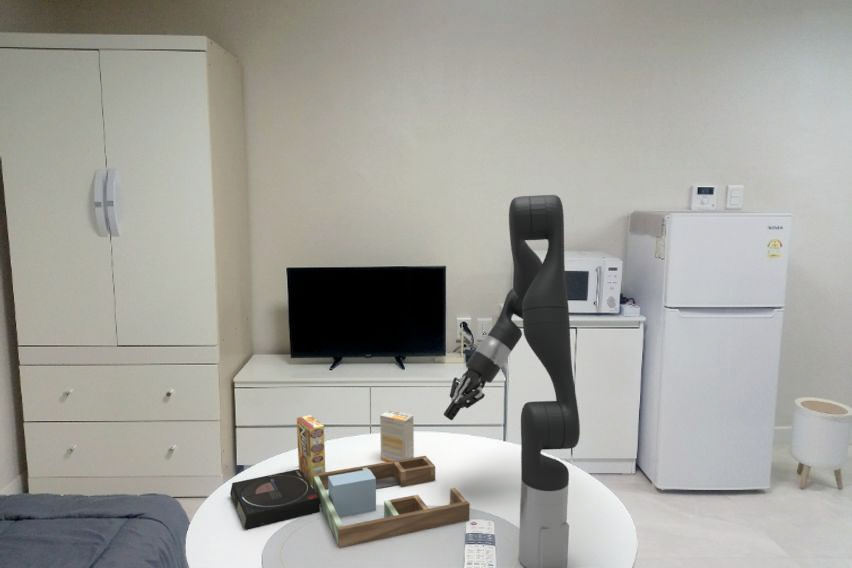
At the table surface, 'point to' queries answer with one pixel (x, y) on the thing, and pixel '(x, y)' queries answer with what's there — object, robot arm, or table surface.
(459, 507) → the frame
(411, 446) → the supplement box
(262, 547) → the table surface
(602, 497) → the table surface
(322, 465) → the candy box
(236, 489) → the portable cd player
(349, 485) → the brick
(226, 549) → the table surface
